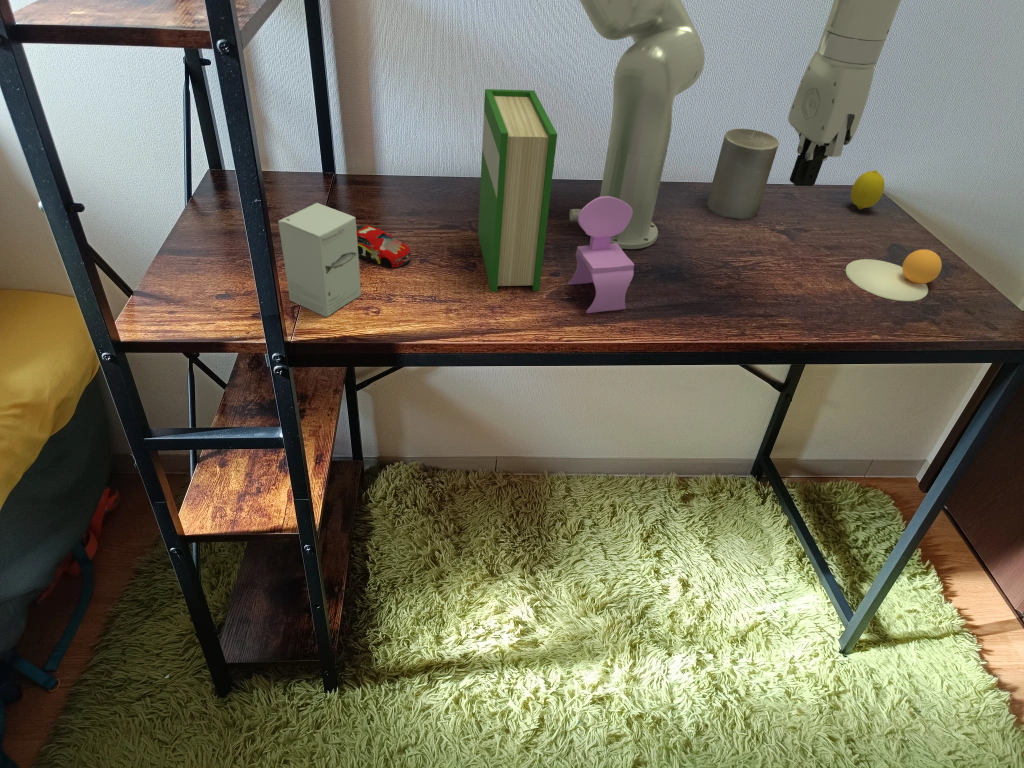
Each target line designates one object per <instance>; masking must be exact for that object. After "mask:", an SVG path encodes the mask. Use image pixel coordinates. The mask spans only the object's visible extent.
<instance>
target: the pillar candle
mask: <svg viewBox="0 0 1024 768" xmlns="http://www.w3.org/2000/svg"><path fill="white" fill-rule="evenodd" d="M779 145H780V142H779V139H777V138H776V137H774V136H773V135H771V134H770V133H767V132H764V131H761V130H756V129H750V128H734V129H730V130H728V131H726V132H725V134H724V137H723V141H722V144H721V148H720V152H719V155H718V160H717V164H716V167H715V170H714V175H713V179H712V182H711V186H710V190H709V194H708V198H707V202H706V206H707V208H708V209H709V210H710V211H711V212H713V213H714V214H716V215H718V216H721V217H724V218H732V219H735V220H749V219H752V218H754V217H756V216H757V214H758V212H759V210H760V207H761V203H762V201H763V196H764V194H765V190H766V187H767V184H768V180H769V178H770V173H771V171H772V167H773V164H774V161H775V157H776V153H777V151H778V148H779Z"/></svg>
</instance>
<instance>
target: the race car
mask: <svg viewBox="0 0 1024 768" xmlns="http://www.w3.org/2000/svg"><path fill="white" fill-rule="evenodd" d="M356 230H357V244H358V258H361V259H364V260H367V261H370V262H372V263H375V264H378V265H381V266H382V267H385V268H388V269H391V268H399V267H403V266H405V265H407V264H408V263H409V262H410V261H411V259H412V255H411V253H412V252H411V248H410V247H409V246H408V245H407V244H405V243H403V242H402V241H399V239H396V238H394V237H392V233H388V232H386V231H384V230H381V229H380V228H377V227H374V226H371V225H367V224H360V223H358V224H357V223H356Z"/></svg>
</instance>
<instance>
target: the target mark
mask: <svg viewBox="0 0 1024 768" xmlns="http://www.w3.org/2000/svg"><path fill="white" fill-rule="evenodd" d="M902 267H903V266H900V265H899V264H895V263H892V262H889V261H884V260H878V259H871V258H870V259H869V258H868V259H867V258H864V259H862V258H861V259H856V260H853V261H850V262H849V263H848V264H847V265H846V268H845V274H846V276H847V278H848V280H850V282H852V284H854V285H855V286H856V287H858V288H860V290H861V289H862V290H863V291H865V292H867V293H868V294H872V295H874V296H877V297H880V298H883V299H886V300H891V301H898V302H916V301H919V300H922V299H924V298H925V297H926V296H927V295H928V293H929V288H928V285H927V283H924V284H917V283H913V282H911V281H909V280H908V279H907V278H906V277H905V275H904V273H903V269H902Z"/></svg>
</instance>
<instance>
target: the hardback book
mask: <svg viewBox="0 0 1024 768" xmlns="http://www.w3.org/2000/svg"><path fill="white" fill-rule="evenodd" d="M483 103H484V104H483V125H482V147H481V167H480V168H481V170H480V187H479V188H480V190H479V211H478V230H477V231H478V232H477V237H478V241H479V245H480V246H479V247H480V249H481V254H482V258H483V262H484V268H485V272H486V276H487V280H488V286H489V289H490V293H497V292H498V287H506V286H507V287H513V286H516V287H519V286H531V289H532V291H533V292H540V290H541V289H540V287H541V280H542V272H543V262H544V253H545V246H546V244H545V243H546V237H547V236H546V235H547V229H548V219H549V209H550V203H551V192H552V186H553V185H552V183H553V176H554V175H553V174H554V167H555V158H556V150H557V149H556V148H557V140H558V132H557V131H556V129H555V127H554V126H553V123H552V121H551V120H550V118H549V115H548V114H547V112H546V110H545V107H544V106H543V104H542V102H541V100H540V99H539V97H538V95H537V93H536V91H535V90H531V89H530V90H529V89H528V90H527V89H526V90H525V89H498V88H497V89H496V88H495V89H493V88H492V89H491V88H489V89H488V88H484V101H483Z"/></svg>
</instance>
